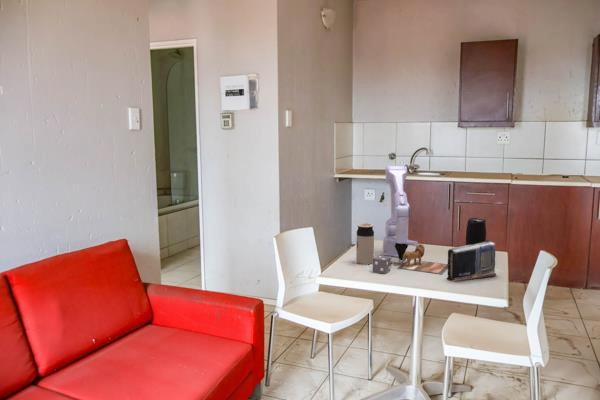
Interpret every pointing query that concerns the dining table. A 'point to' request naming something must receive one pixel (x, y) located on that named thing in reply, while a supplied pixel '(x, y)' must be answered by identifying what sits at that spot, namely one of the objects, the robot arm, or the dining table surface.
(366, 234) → the travel mug
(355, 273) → the dining table surface
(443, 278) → the dining table surface
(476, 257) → the radio
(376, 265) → the die
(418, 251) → the lion figurine
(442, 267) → the board
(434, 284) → the dining table surface
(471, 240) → the portable speaker
